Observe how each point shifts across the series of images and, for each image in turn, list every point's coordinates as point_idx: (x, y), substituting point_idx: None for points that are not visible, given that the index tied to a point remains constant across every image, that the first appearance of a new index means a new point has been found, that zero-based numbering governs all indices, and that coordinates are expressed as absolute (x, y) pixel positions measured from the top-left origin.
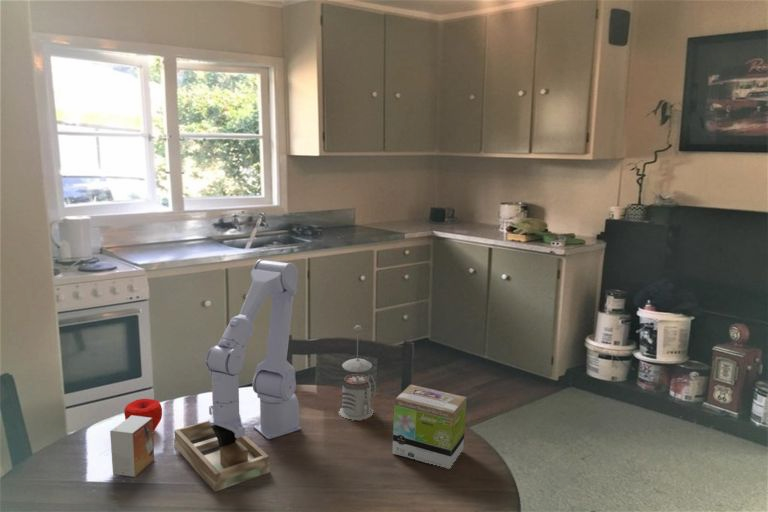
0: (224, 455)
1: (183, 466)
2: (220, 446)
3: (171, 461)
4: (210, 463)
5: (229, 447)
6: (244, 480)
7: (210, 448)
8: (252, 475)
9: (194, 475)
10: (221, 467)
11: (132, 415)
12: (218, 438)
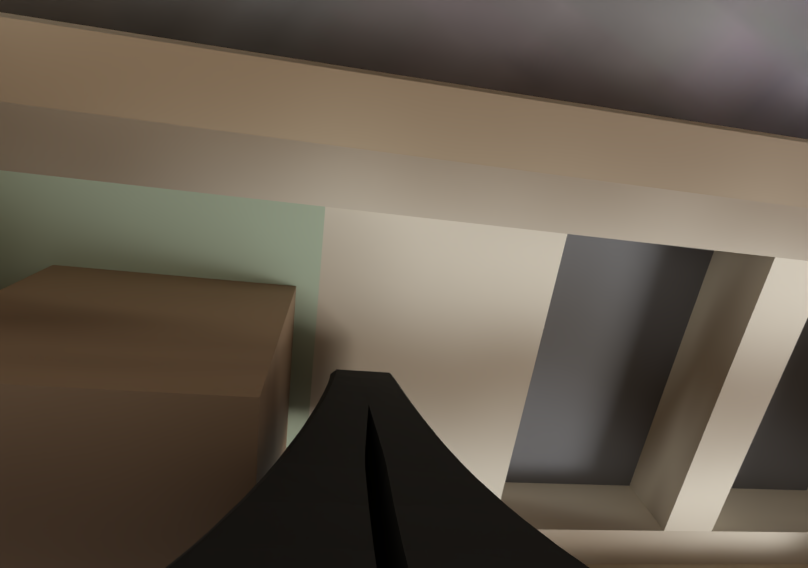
0: (89, 348)
1: (640, 45)
2: (385, 421)
3: (805, 3)
4: (151, 110)
5: (155, 503)
6: None
7: (674, 367)
8: None
9: (420, 36)
10: (214, 256)
11: None
12: (416, 509)
